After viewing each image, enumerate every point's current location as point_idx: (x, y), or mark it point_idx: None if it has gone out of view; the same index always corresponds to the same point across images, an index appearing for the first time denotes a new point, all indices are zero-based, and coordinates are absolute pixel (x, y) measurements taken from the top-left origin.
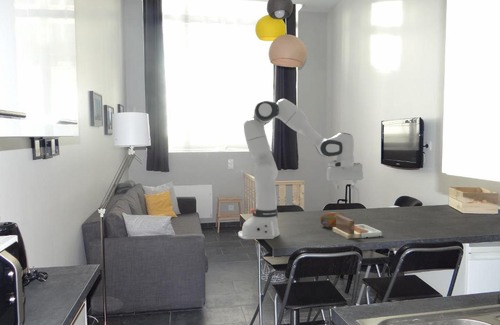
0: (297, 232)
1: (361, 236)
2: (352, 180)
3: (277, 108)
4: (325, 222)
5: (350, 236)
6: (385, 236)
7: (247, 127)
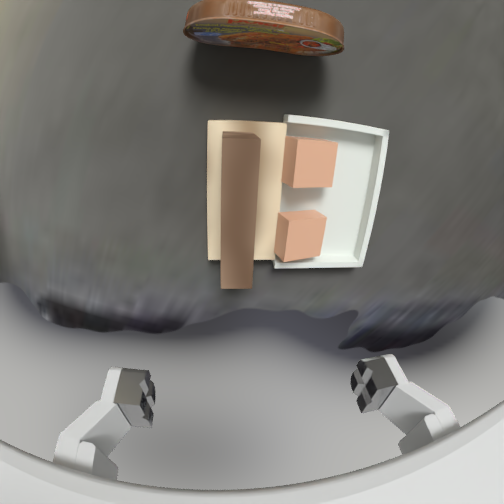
0: (49, 118)
1: None
2: (427, 433)
3: None
4: (213, 34)
5: None
6: None
7: None
